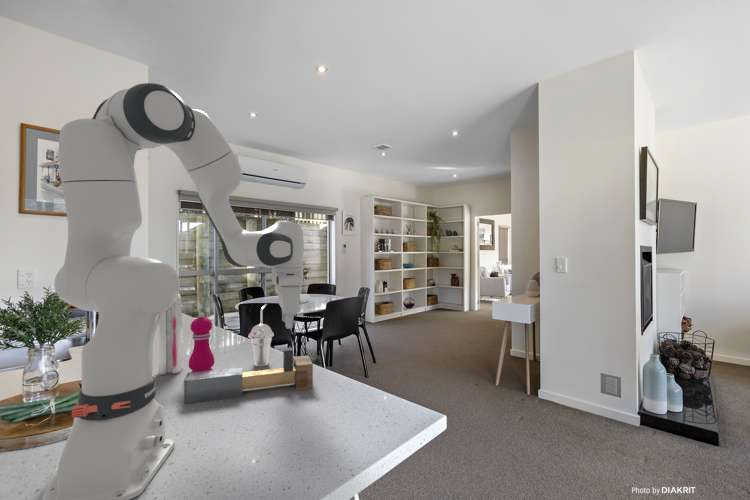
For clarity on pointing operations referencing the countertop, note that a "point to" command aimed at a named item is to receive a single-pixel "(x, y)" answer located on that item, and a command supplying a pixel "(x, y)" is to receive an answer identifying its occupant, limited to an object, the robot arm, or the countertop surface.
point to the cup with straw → (261, 341)
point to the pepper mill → (201, 345)
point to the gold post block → (272, 374)
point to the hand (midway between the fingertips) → (287, 324)
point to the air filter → (171, 339)
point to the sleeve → (212, 385)
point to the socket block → (303, 372)
